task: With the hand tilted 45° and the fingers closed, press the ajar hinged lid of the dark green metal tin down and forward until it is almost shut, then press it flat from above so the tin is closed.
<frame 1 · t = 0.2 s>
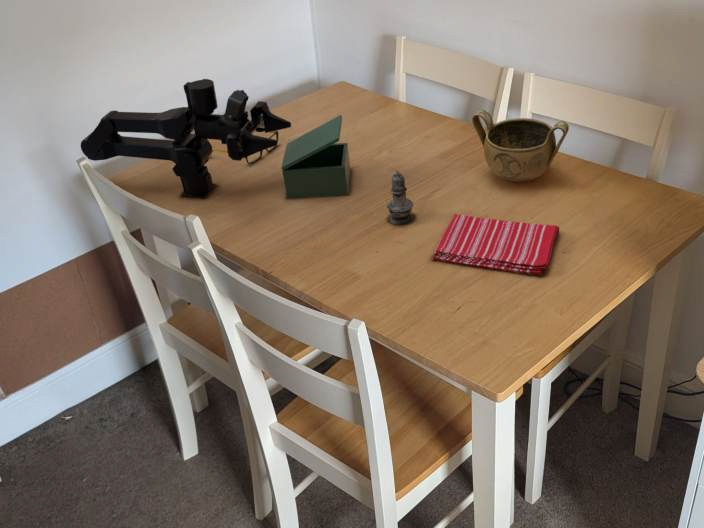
hand: (283, 133, 180), 17 cm above the table, tool horizontal, fingers open, 9 cm apart
eyeglasses: (245, 151, 212), on the table
dark grey tall piece: (401, 219, 179), on the table
lid: (312, 142, 188), point 11 cm above the table, hinge at 25.0°
dish towel: (497, 247, 167), on the table
ceramic bowl: (518, 176, 190), on the table
tin: (319, 183, 195), on the table
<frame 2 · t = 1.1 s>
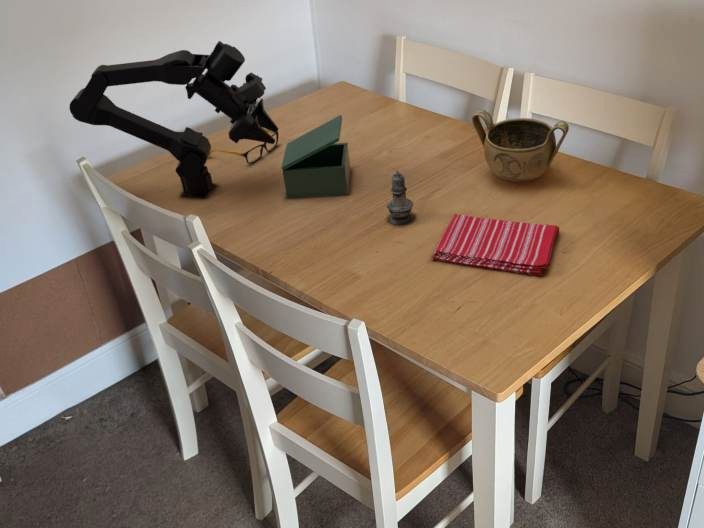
hand: (275, 136, 187), 13 cm above the table, tool tilted 45°, fingers open, 6 cm apart
nothing on the table moved.
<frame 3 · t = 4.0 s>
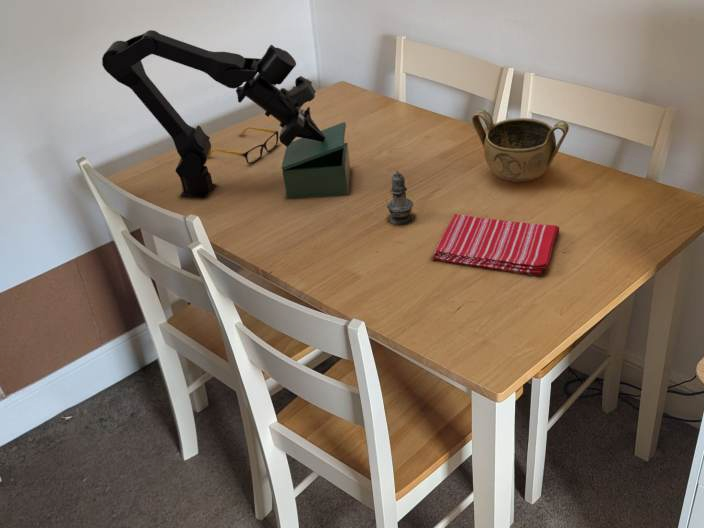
hand: (324, 139, 187), 11 cm above the table, tool tilted 45°, fingers closed
lid: (314, 145, 188), point 10 cm above the table, hinge at 17.5°
everything else where it was.
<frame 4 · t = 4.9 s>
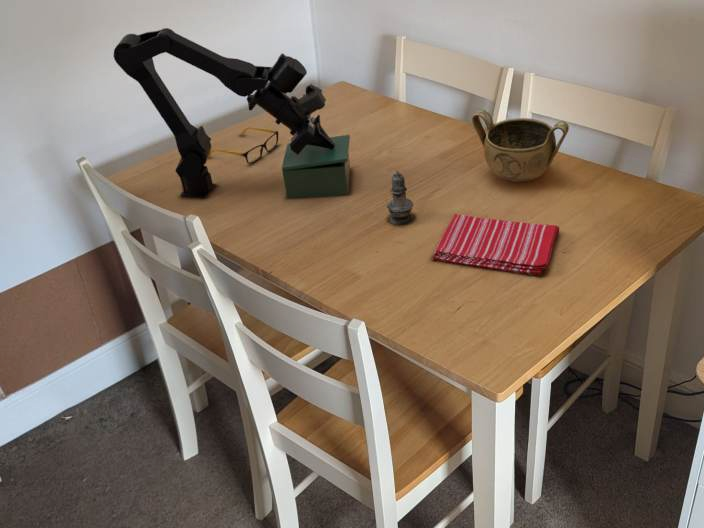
hand: (333, 147, 189), 9 cm above the table, tool tilted 45°, fingers closed, pressing on lid
lid: (316, 152, 189), point 8 cm above the table, hinge at 4.7°, touching gripper
everything else where it was.
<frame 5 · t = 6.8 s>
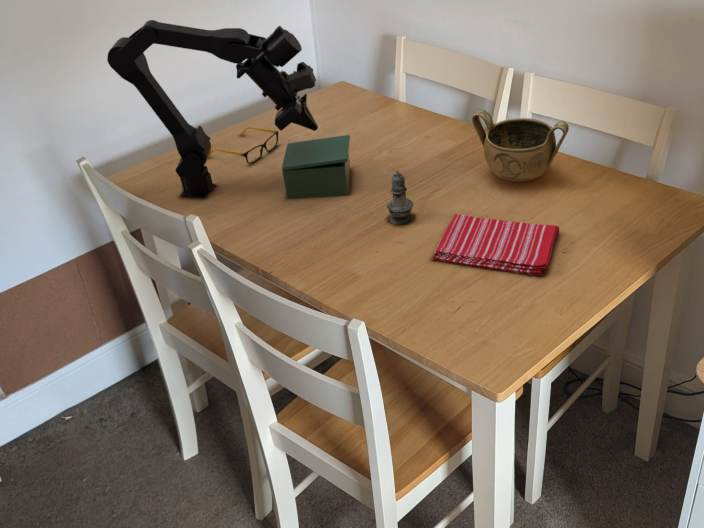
hand: (316, 129, 186), 14 cm above the table, tool tilted 35°, fingers closed
lid: (316, 152, 190), point 8 cm above the table, hinge at 4.5°
everything else where it was.
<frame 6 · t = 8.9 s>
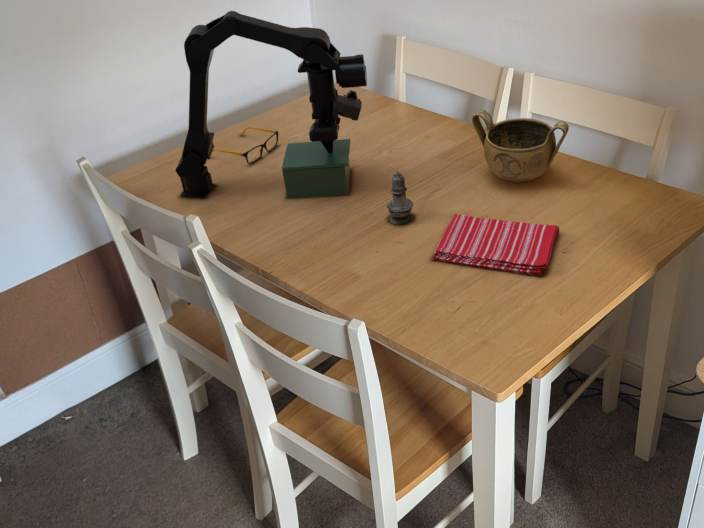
hand: (330, 152, 189), 8 cm above the table, tool pointing down, fingers closed, pressing on lid
lid: (316, 154, 190), point 8 cm above the table, hinge at 0.4°, touching gripper
everything else where it was.
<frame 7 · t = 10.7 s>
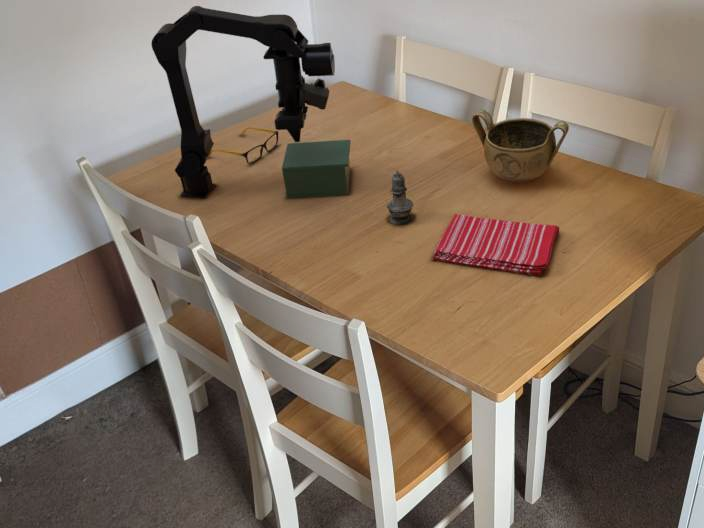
hand: (297, 141, 187), 12 cm above the table, tool pointing down, fingers closed
lid: (317, 154, 190), point 8 cm above the table, hinge at -0.2°, touching tin
everything else where it was.
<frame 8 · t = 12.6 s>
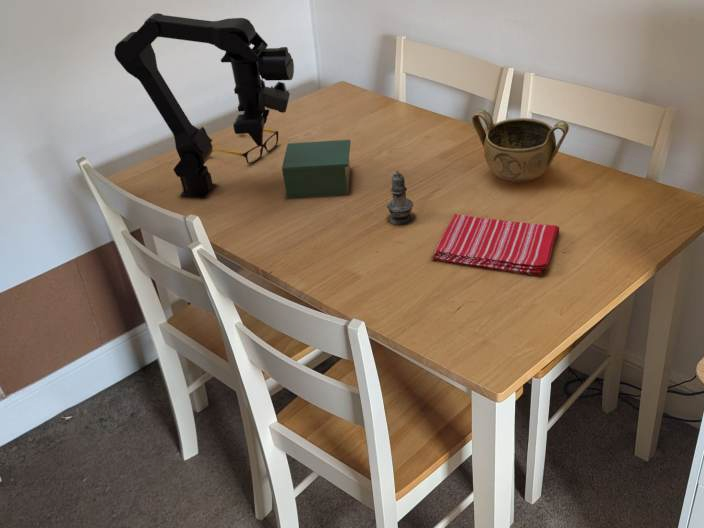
hand: (260, 145, 186), 13 cm above the table, tool pointing down, fingers closed
nothing on the table moved.
at the end: lid at +0° (first picture: +25°) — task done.
